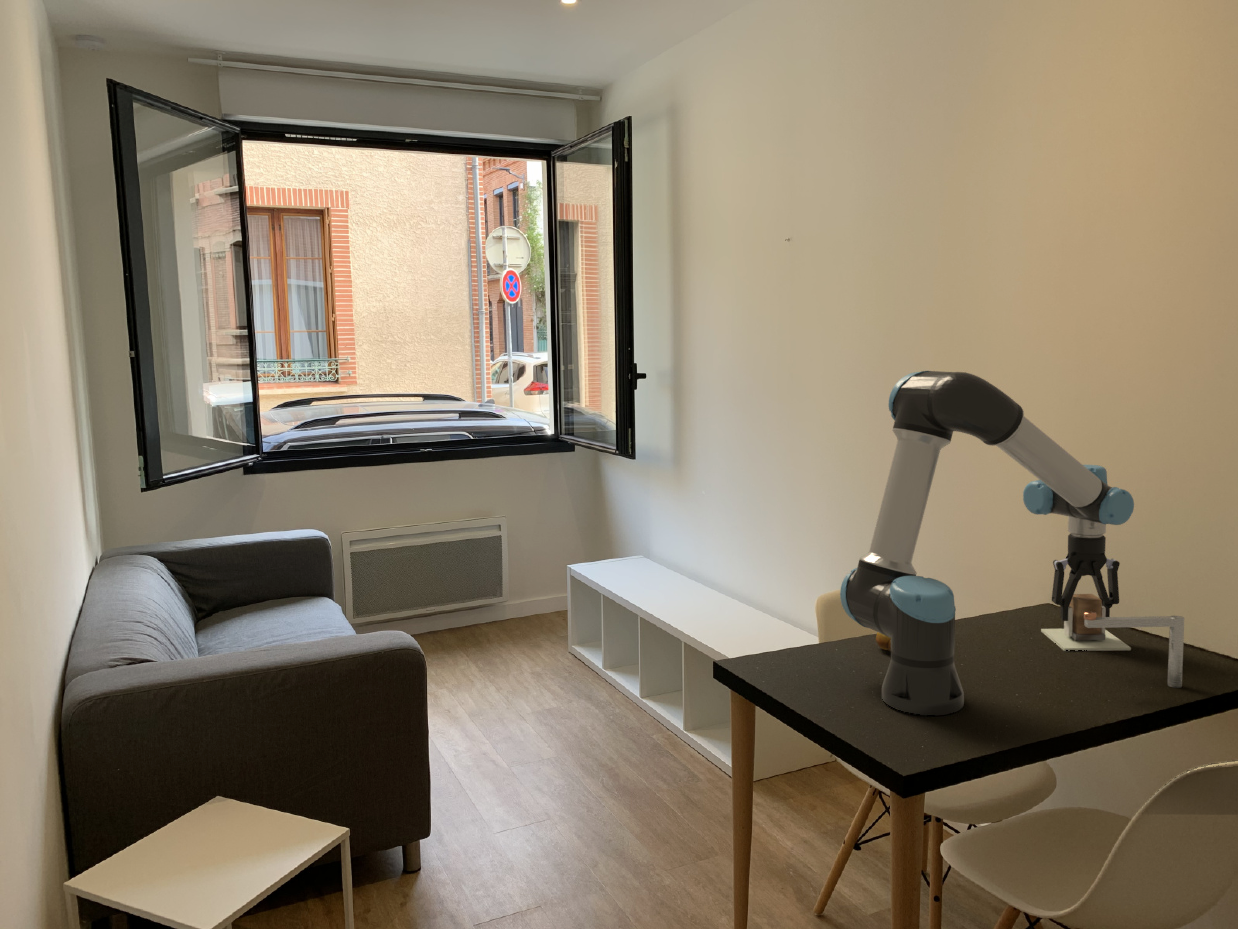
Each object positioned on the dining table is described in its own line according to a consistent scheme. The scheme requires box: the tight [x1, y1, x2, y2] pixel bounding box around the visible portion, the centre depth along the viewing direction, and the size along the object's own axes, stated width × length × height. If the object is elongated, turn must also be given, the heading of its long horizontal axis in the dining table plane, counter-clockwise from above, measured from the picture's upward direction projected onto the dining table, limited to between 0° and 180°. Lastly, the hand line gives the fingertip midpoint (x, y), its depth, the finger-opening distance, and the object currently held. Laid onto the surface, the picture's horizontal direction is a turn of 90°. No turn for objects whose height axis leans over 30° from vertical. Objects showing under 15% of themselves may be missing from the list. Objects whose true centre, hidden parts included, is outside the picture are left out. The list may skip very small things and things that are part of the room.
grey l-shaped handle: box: [1084, 611, 1185, 689], centre depth 182 cm, size 2×19×15 cm, turn 85°
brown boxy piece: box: [1069, 593, 1105, 640], centre depth 210 cm, size 6×6×9 cm
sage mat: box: [1040, 628, 1132, 652], centre depth 210 cm, size 14×14×1 cm
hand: (1084, 634), depth 210 cm, fingers closed on brown boxy piece, 6 cm apart
